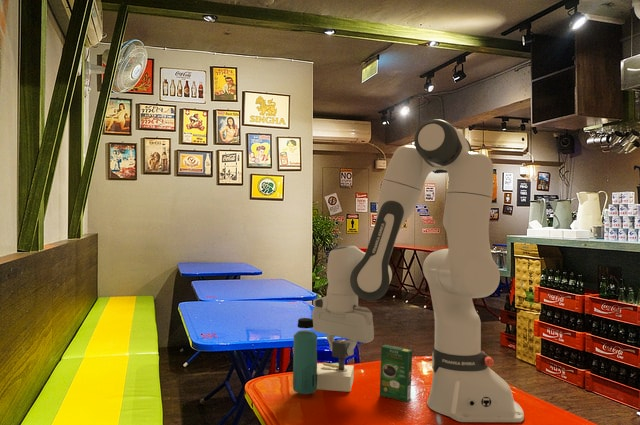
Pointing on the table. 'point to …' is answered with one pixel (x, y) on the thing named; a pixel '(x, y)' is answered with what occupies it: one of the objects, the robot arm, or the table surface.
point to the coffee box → (396, 373)
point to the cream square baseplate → (335, 377)
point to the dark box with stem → (339, 353)
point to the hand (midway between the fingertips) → (341, 352)
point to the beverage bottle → (305, 358)
